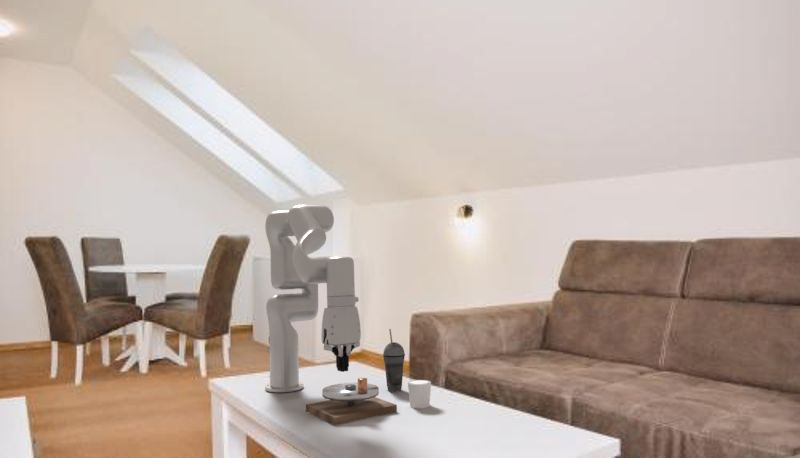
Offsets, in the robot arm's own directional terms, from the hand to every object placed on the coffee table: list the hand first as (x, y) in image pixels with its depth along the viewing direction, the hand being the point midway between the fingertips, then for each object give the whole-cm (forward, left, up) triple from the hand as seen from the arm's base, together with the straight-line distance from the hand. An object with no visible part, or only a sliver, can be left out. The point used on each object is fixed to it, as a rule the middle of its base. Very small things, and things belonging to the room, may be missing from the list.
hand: (342, 370), depth 155 cm
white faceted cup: (0, +26, -14) cm, 29 cm away
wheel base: (-7, +7, -14) cm, 17 cm away
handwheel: (-7, +6, -9) cm, 13 cm away
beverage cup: (-20, +31, -14) cm, 39 cm away
